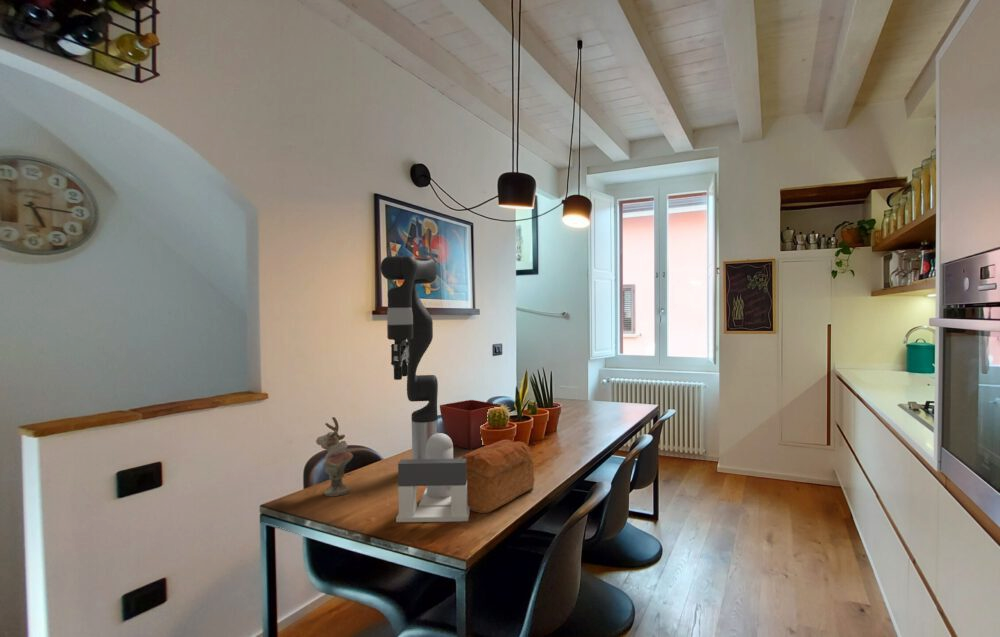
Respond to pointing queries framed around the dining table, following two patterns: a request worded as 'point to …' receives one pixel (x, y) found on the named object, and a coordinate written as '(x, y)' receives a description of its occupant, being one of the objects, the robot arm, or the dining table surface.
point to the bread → (498, 474)
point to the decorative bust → (335, 459)
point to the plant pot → (465, 421)
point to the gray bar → (432, 472)
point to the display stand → (435, 492)
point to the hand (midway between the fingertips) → (401, 377)
